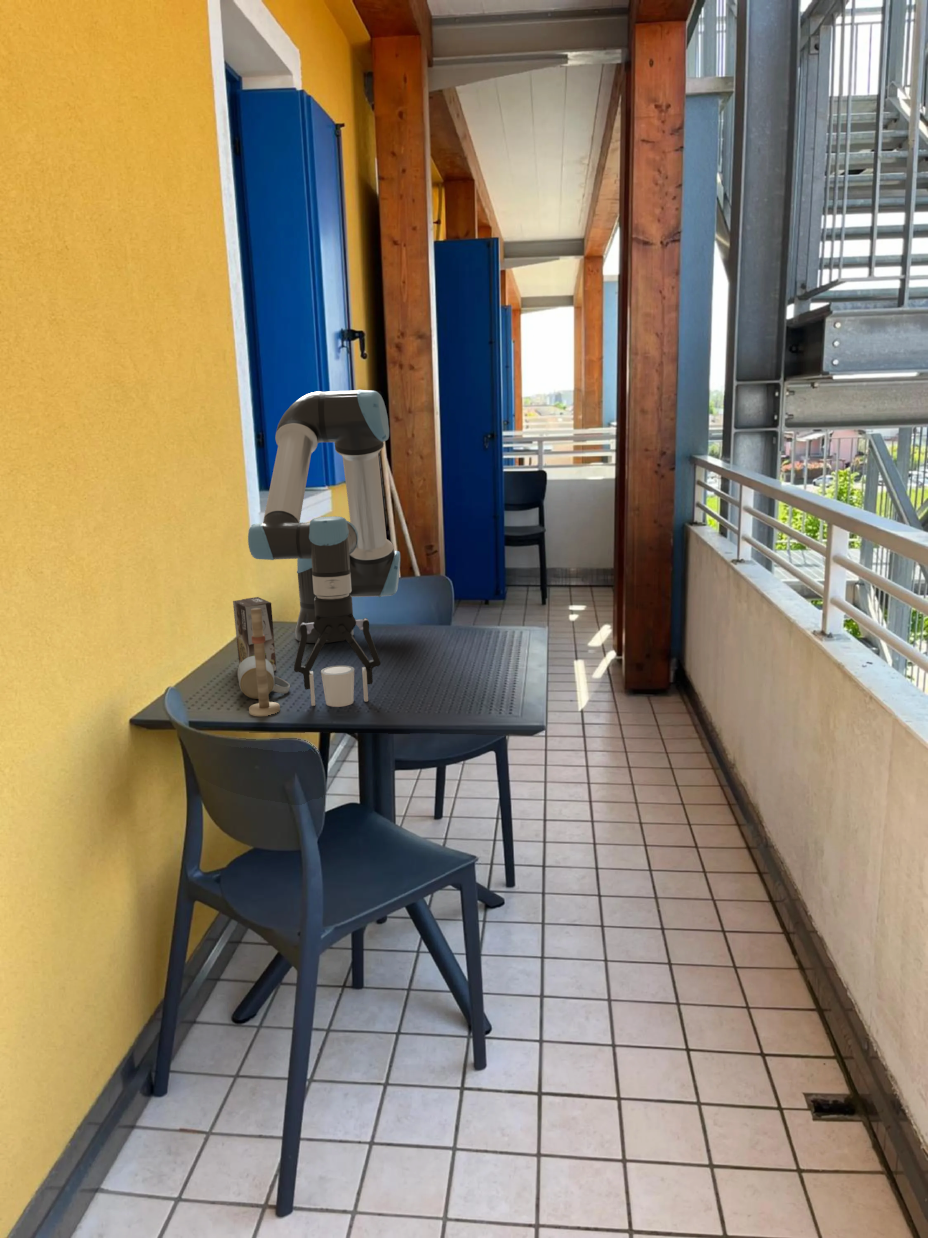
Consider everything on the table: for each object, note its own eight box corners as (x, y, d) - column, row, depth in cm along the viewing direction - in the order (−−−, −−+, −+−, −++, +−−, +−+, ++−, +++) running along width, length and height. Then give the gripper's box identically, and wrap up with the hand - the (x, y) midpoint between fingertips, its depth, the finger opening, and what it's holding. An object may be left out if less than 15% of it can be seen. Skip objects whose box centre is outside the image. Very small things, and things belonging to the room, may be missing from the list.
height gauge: (250, 707, 185) (241, 607, 180) (280, 705, 186) (272, 605, 181) (248, 717, 179) (239, 613, 175) (279, 715, 180) (271, 611, 175)
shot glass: (351, 695, 191) (349, 663, 190) (360, 704, 185) (358, 671, 183) (319, 699, 189) (317, 667, 187) (327, 709, 183) (324, 676, 181)
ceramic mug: (240, 702, 189) (238, 667, 187) (238, 691, 196) (236, 656, 195) (292, 697, 192) (290, 662, 190) (288, 686, 199) (286, 652, 198)
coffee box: (277, 670, 211) (272, 602, 207) (250, 675, 208) (244, 606, 204) (264, 661, 218) (258, 595, 215) (238, 666, 215) (232, 599, 211)
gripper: (274, 602, 176) (283, 711, 181) (391, 595, 180) (396, 702, 185) (275, 595, 184) (284, 700, 189) (387, 588, 187) (393, 691, 192)
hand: (339, 701), depth 187 cm, fingers open, 10 cm apart
